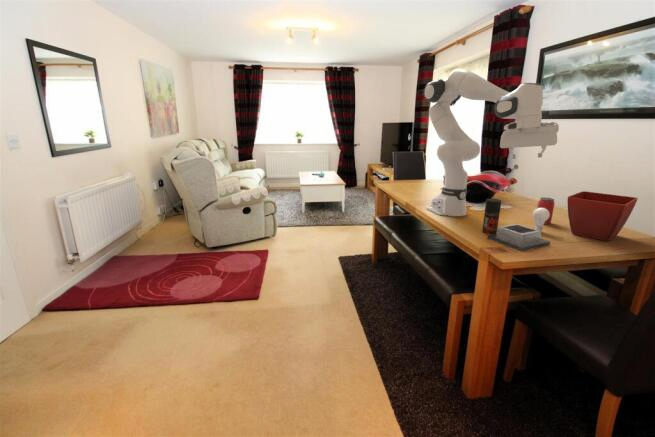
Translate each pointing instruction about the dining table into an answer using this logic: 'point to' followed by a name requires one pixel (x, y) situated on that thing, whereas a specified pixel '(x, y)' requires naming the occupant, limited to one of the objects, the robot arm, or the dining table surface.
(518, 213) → the dining table surface
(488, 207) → the deodorant
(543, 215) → the lightbulb
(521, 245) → the collar holder
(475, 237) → the dining table surface
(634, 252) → the dining table surface
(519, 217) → the dining table surface
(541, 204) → the beer can
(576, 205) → the plant pot
